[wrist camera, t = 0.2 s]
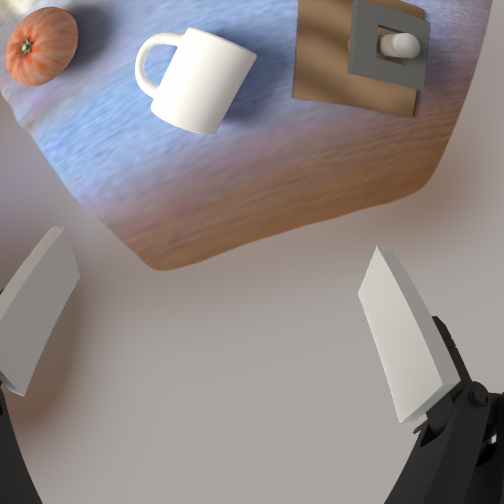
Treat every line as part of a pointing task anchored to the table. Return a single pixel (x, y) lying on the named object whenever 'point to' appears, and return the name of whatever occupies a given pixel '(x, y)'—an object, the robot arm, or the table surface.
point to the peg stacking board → (336, 58)
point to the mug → (195, 79)
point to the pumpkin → (42, 46)
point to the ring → (365, 45)
